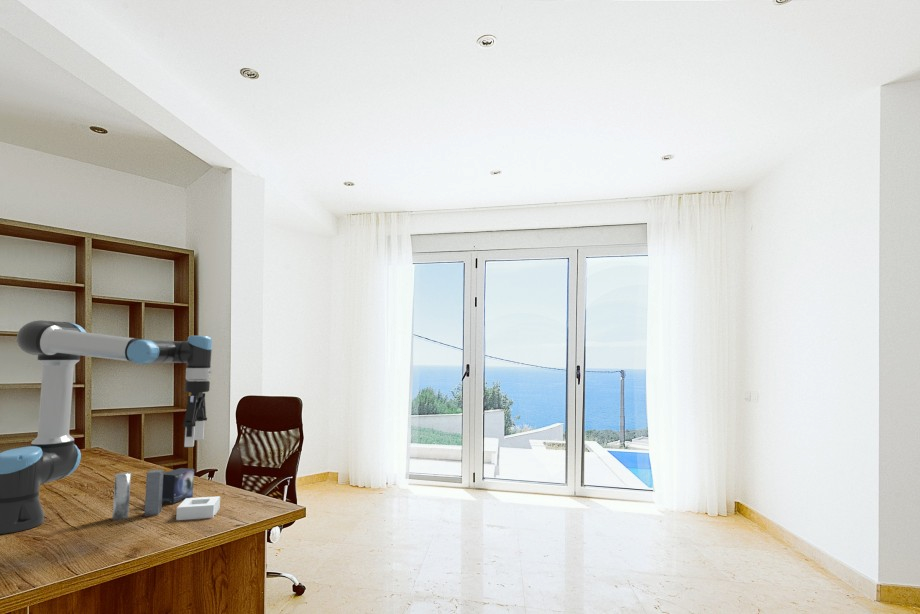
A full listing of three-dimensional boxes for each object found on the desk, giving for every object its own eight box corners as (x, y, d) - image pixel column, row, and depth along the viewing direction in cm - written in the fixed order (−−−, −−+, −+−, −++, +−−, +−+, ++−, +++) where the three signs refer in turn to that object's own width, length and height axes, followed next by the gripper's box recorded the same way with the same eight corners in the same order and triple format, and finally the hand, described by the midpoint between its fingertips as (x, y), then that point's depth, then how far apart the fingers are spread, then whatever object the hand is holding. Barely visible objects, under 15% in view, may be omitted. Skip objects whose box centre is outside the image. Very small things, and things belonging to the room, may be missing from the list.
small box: (173, 504, 184) (174, 474, 185) (157, 503, 185) (159, 473, 186) (193, 496, 194) (195, 468, 195) (178, 495, 196) (180, 467, 197)
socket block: (176, 520, 167) (176, 507, 167) (185, 510, 178) (185, 498, 178) (213, 517, 170) (213, 505, 170) (219, 507, 180) (220, 496, 181)
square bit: (144, 515, 171) (146, 472, 173) (148, 512, 175) (150, 470, 176) (157, 515, 172) (160, 472, 174) (161, 511, 176) (163, 469, 177)
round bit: (110, 520, 167) (113, 475, 168) (115, 516, 171) (118, 472, 172) (125, 519, 168) (128, 475, 169) (130, 515, 172) (133, 472, 173)
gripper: (201, 382, 167) (197, 449, 165) (217, 378, 191) (213, 436, 189) (175, 382, 165) (171, 450, 163) (194, 378, 189) (191, 437, 187)
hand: (194, 443), depth 176 cm, fingers open, 13 cm apart
